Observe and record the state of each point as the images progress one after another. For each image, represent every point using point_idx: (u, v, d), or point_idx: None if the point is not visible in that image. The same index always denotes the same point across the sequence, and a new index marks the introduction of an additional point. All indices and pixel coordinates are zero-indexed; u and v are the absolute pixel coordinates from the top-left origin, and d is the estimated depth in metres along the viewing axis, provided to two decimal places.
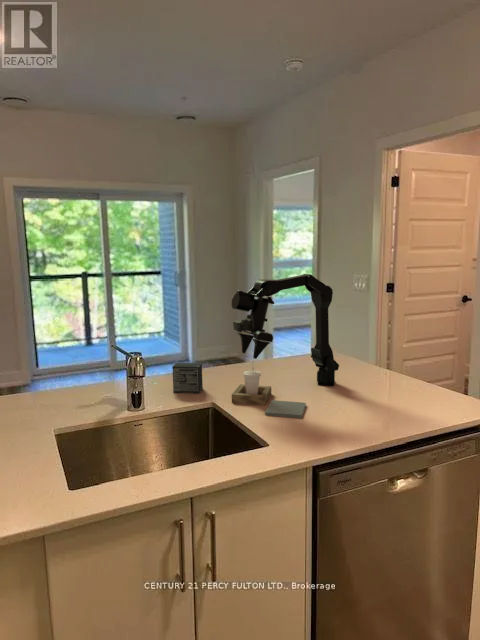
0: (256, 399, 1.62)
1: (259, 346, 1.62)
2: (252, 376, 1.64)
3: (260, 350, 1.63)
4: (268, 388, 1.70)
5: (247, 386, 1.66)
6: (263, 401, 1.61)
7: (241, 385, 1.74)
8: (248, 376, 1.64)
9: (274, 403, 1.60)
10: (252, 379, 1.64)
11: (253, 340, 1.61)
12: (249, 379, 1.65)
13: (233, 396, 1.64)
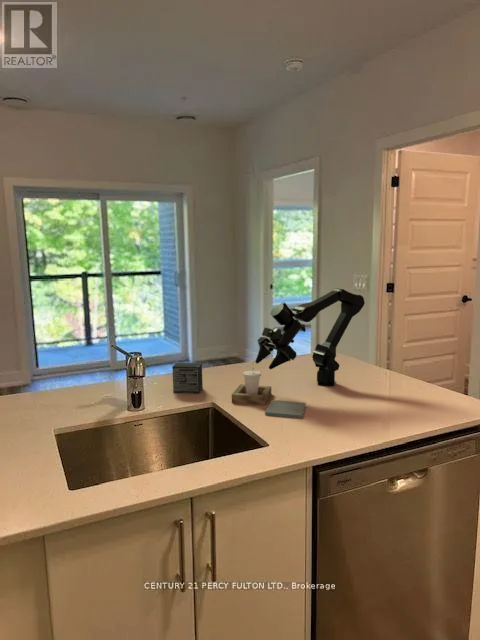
0: (256, 399, 1.62)
1: (279, 359, 1.65)
2: (252, 376, 1.64)
3: (278, 363, 1.65)
4: (268, 388, 1.70)
5: (247, 386, 1.66)
6: (263, 401, 1.61)
7: (241, 385, 1.74)
8: (248, 376, 1.64)
9: (274, 403, 1.60)
10: (252, 379, 1.64)
11: (277, 350, 1.64)
12: (249, 379, 1.65)
13: (233, 396, 1.64)
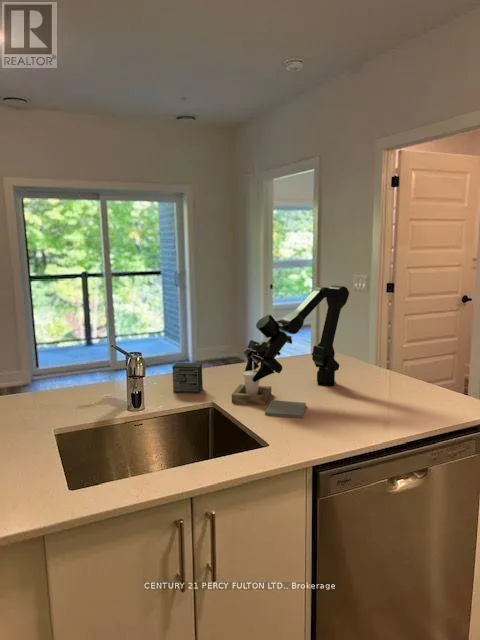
0: (256, 399, 1.62)
1: (263, 371, 1.64)
2: (252, 376, 1.64)
3: (262, 376, 1.64)
4: (268, 388, 1.70)
5: (247, 386, 1.66)
6: (263, 401, 1.61)
7: (241, 385, 1.74)
8: (248, 376, 1.64)
9: (274, 403, 1.60)
10: (252, 379, 1.64)
11: (261, 363, 1.63)
12: (249, 379, 1.65)
13: (233, 396, 1.64)
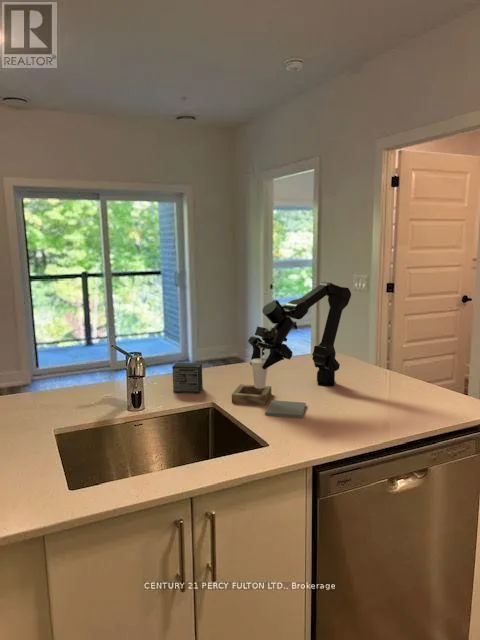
0: (256, 399, 1.62)
1: (272, 358, 1.59)
2: (261, 364, 1.59)
3: (271, 363, 1.59)
4: (268, 388, 1.70)
5: (256, 374, 1.61)
6: (263, 401, 1.61)
7: (241, 385, 1.74)
8: (257, 364, 1.59)
9: (274, 403, 1.60)
10: (261, 367, 1.59)
11: (270, 350, 1.58)
12: (258, 367, 1.59)
13: (233, 396, 1.64)
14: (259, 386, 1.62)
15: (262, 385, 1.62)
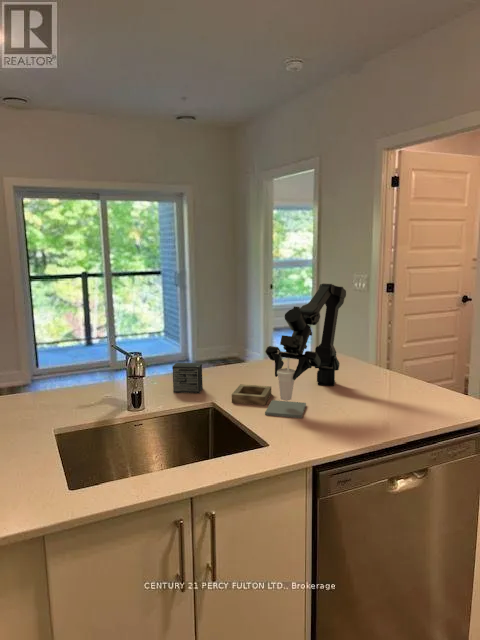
0: (256, 399, 1.62)
1: (301, 367, 1.53)
2: (292, 374, 1.52)
3: (300, 372, 1.53)
4: (268, 388, 1.70)
5: (285, 386, 1.53)
6: (263, 401, 1.61)
7: (241, 385, 1.74)
8: (287, 375, 1.51)
9: (274, 403, 1.60)
10: (291, 378, 1.52)
11: (299, 359, 1.52)
12: (288, 378, 1.52)
13: (233, 396, 1.64)
14: (287, 398, 1.54)
15: (290, 397, 1.54)
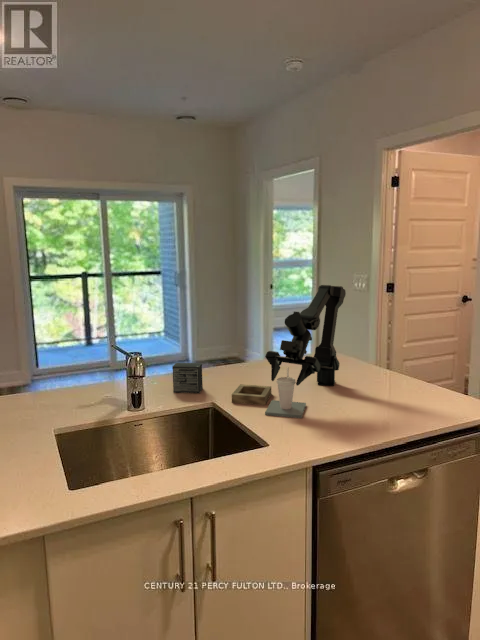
0: (256, 399, 1.62)
1: (304, 373, 1.53)
2: (291, 383, 1.52)
3: (304, 378, 1.53)
4: (268, 388, 1.70)
5: (284, 395, 1.53)
6: (263, 401, 1.61)
7: (241, 385, 1.74)
8: (287, 384, 1.52)
9: (274, 403, 1.60)
10: (291, 386, 1.53)
11: (303, 364, 1.52)
12: (288, 387, 1.52)
13: (233, 396, 1.64)
14: (287, 407, 1.54)
15: (290, 405, 1.55)
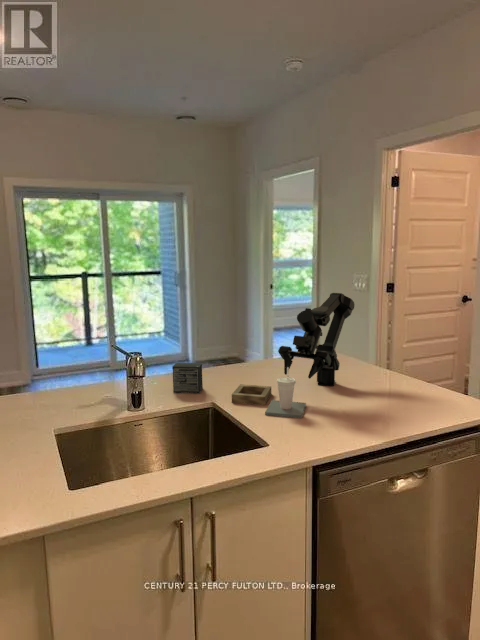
0: (256, 399, 1.62)
1: (316, 367, 1.60)
2: (291, 383, 1.52)
3: (315, 371, 1.60)
4: (268, 388, 1.70)
5: (284, 395, 1.53)
6: (263, 401, 1.61)
7: (241, 385, 1.74)
8: (287, 384, 1.52)
9: (274, 403, 1.60)
10: (291, 386, 1.53)
11: (315, 358, 1.59)
12: (288, 387, 1.52)
13: (233, 396, 1.64)
14: (287, 406, 1.54)
15: (290, 405, 1.55)
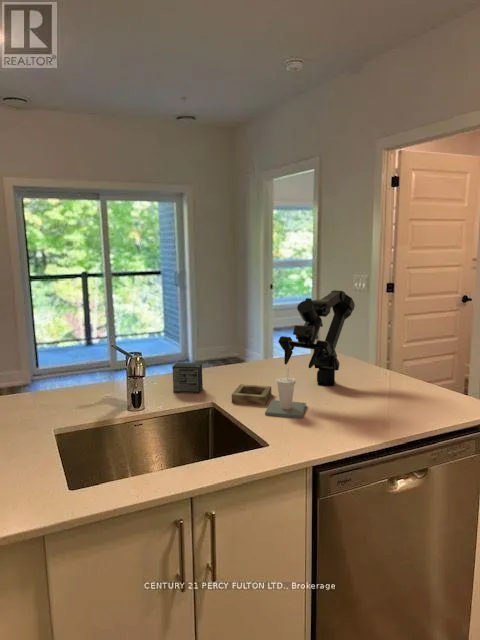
0: (256, 399, 1.62)
1: (316, 356, 1.60)
2: (291, 383, 1.52)
3: (316, 361, 1.60)
4: (268, 388, 1.70)
5: (284, 395, 1.53)
6: (263, 401, 1.61)
7: (241, 385, 1.74)
8: (287, 384, 1.52)
9: (274, 403, 1.60)
10: (290, 386, 1.53)
11: (315, 348, 1.59)
12: (287, 387, 1.52)
13: (233, 396, 1.64)
14: (287, 407, 1.54)
15: (290, 405, 1.55)
